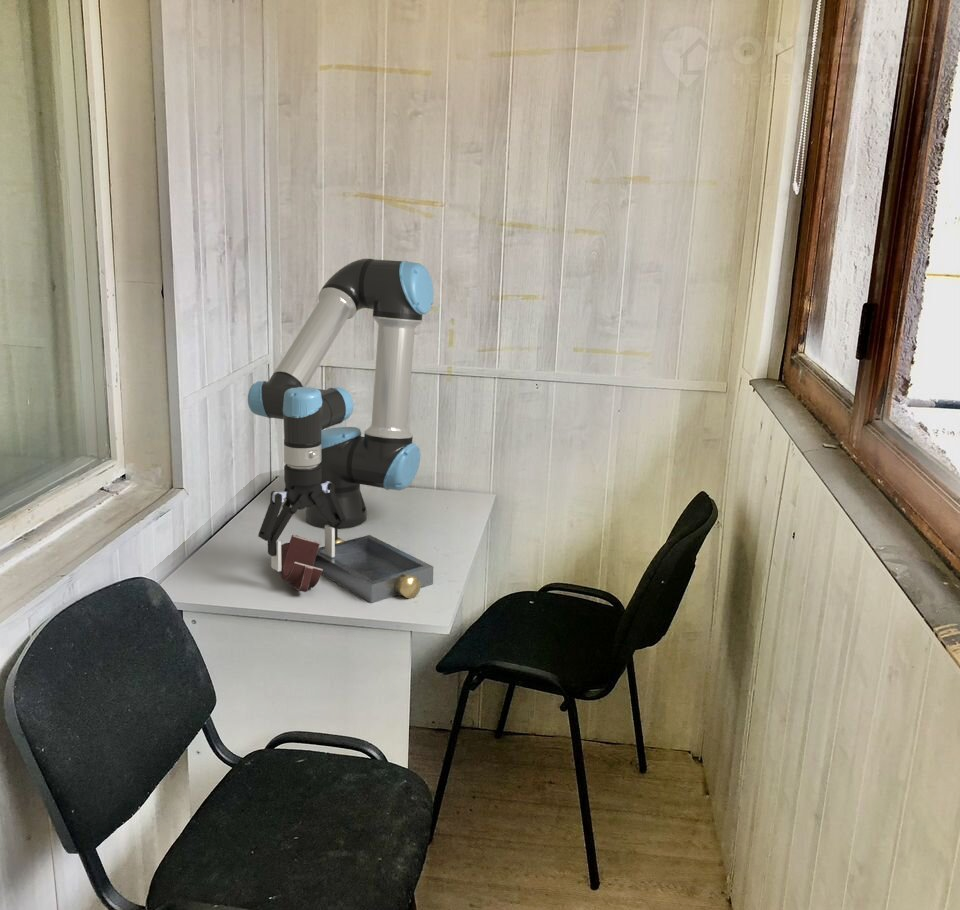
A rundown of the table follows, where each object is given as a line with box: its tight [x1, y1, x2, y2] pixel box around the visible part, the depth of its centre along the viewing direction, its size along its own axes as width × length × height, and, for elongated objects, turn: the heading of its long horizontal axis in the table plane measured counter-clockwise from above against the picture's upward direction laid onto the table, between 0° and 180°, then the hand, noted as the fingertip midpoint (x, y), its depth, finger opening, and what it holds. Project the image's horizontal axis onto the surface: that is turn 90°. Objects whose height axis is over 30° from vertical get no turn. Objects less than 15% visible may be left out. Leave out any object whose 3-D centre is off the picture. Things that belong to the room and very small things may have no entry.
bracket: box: [280, 534, 323, 593], centre depth 193 cm, size 6×17×10 cm, turn 27°
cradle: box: [313, 534, 434, 604], centre depth 198 cm, size 29×16×4 cm, turn 42°
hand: (303, 562), depth 193 cm, fingers open, 12 cm apart
